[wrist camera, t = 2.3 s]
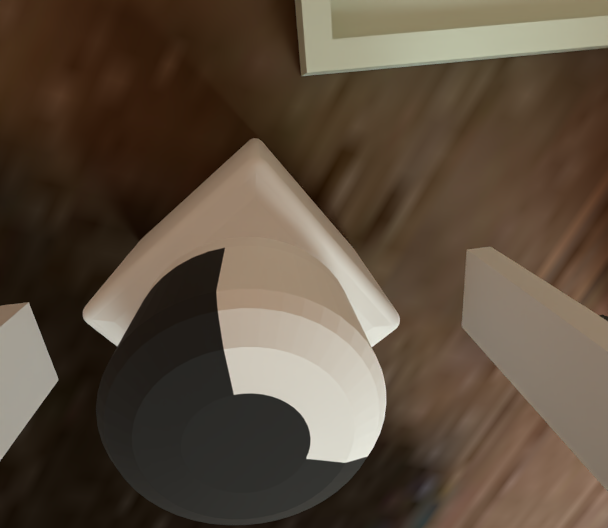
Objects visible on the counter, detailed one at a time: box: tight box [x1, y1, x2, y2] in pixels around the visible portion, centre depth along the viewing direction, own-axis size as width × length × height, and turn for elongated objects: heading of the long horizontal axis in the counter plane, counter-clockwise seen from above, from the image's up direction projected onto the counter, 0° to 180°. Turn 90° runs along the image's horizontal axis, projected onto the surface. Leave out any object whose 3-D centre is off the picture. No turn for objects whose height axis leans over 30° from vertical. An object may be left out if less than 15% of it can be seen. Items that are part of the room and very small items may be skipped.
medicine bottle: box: [83, 138, 400, 525], centre depth 14 cm, size 7×7×12 cm
